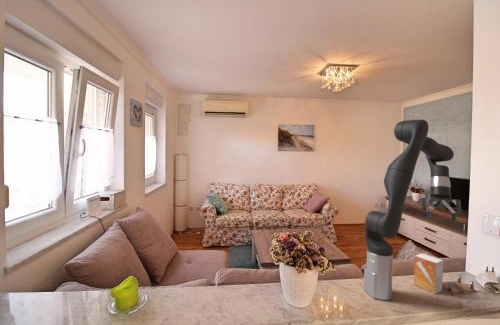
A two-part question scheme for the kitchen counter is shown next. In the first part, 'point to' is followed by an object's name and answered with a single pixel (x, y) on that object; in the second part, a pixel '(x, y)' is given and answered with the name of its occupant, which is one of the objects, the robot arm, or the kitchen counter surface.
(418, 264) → the small box
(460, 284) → the pin plate
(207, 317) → the kitchen counter surface
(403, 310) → the kitchen counter surface
